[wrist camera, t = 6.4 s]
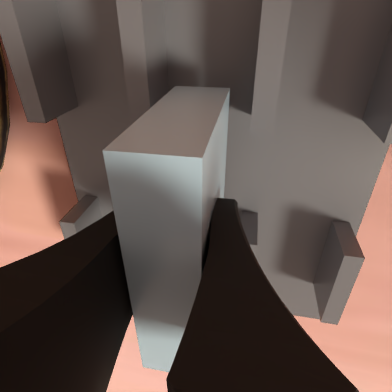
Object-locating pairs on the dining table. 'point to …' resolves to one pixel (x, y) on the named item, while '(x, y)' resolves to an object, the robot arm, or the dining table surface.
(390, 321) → the dining table surface
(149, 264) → the grey rectangular block
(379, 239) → the dining table surface
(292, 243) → the grey slotted organizer
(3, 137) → the decorative plate
